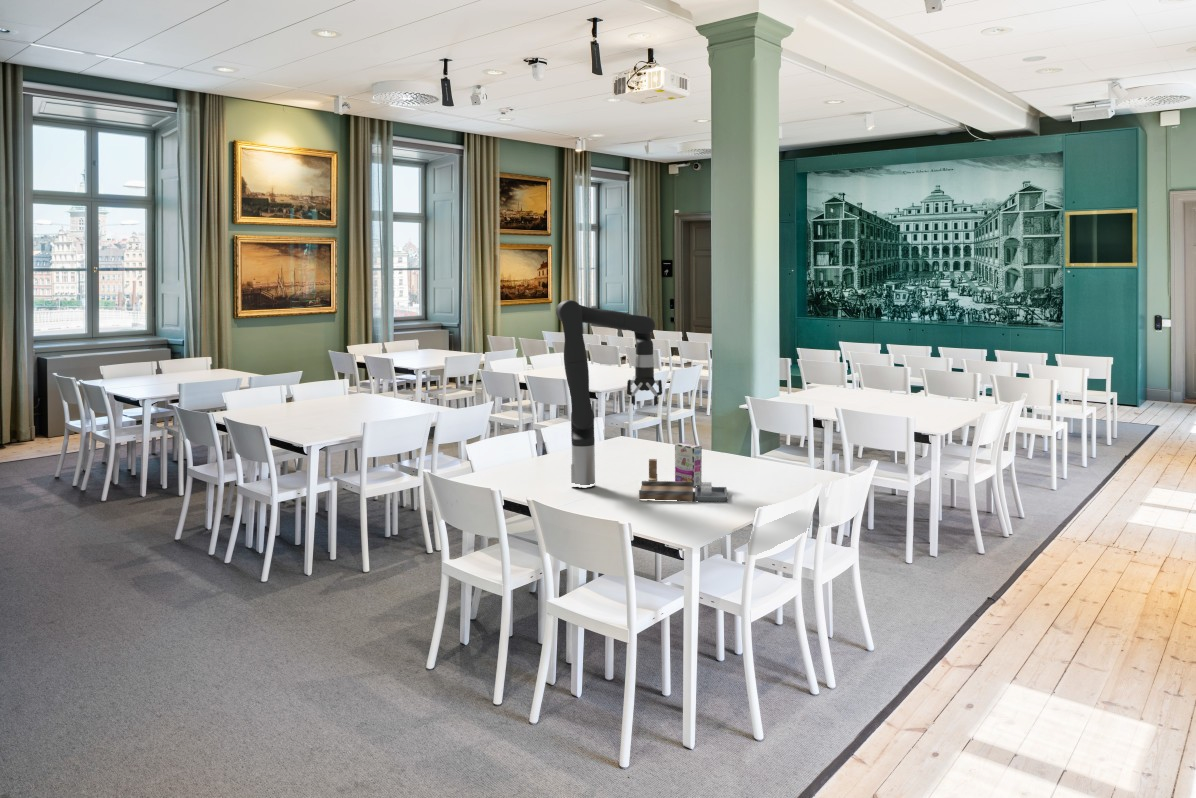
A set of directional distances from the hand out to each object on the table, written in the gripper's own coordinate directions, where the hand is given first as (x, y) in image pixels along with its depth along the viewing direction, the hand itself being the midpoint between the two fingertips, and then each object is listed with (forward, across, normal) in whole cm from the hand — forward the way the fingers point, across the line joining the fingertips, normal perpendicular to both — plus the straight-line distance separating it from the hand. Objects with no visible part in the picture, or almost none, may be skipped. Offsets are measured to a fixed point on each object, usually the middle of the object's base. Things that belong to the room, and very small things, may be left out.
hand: (644, 405), depth 367 cm
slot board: (+32, +10, -24) cm, 41 cm away
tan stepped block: (+32, +4, -8) cm, 33 cm away
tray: (+32, +27, -23) cm, 48 cm away
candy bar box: (+32, +18, -3) cm, 37 cm away
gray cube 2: (+29, +23, -25) cm, 45 cm away
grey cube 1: (+29, +23, -20) cm, 43 cm away
